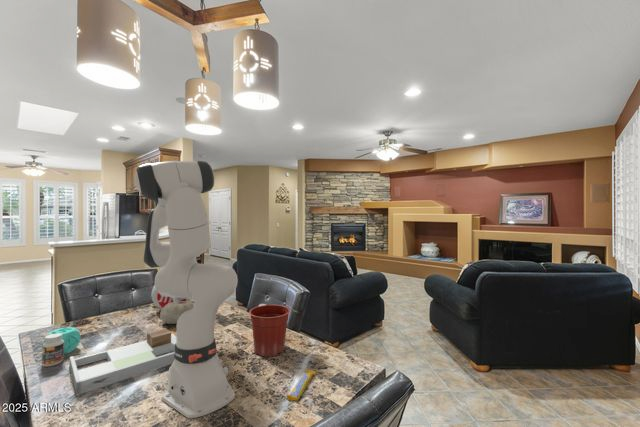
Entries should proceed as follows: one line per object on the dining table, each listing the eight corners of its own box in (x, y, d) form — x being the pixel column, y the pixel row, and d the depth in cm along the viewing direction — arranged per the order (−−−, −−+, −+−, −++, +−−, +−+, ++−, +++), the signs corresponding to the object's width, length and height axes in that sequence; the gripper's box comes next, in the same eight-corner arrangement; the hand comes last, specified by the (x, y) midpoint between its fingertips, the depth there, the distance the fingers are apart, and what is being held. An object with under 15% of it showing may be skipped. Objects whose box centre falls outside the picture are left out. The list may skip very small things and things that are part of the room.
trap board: (192, 357, 109) (192, 347, 109) (76, 395, 85) (76, 382, 85) (172, 339, 125) (172, 330, 125) (69, 367, 101) (69, 356, 101)
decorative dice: (80, 347, 116) (81, 327, 116) (61, 356, 108) (61, 335, 108) (62, 346, 117) (63, 326, 117) (42, 355, 109) (42, 334, 109)
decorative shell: (187, 313, 159) (187, 295, 159) (205, 320, 148) (206, 301, 148) (153, 322, 144) (153, 303, 144) (171, 331, 134) (171, 310, 134)
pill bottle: (44, 368, 100) (45, 340, 100) (39, 364, 103) (40, 336, 103) (65, 362, 104) (66, 334, 105) (60, 357, 108) (61, 331, 108)
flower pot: (240, 350, 116) (241, 310, 116) (272, 338, 128) (273, 302, 128) (264, 364, 105) (265, 320, 105) (297, 349, 117) (298, 310, 117)
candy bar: (297, 405, 83) (297, 398, 83) (284, 402, 84) (284, 395, 84) (316, 375, 99) (316, 369, 99) (304, 373, 100) (304, 367, 100)
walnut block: (171, 342, 116) (171, 332, 116) (151, 348, 111) (152, 337, 111) (165, 337, 121) (165, 327, 121) (146, 342, 116) (146, 332, 116)
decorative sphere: (155, 318, 150) (156, 280, 151) (147, 308, 165) (148, 274, 166) (194, 310, 163) (195, 275, 164) (184, 302, 178) (184, 270, 179)
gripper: (196, 265, 134) (196, 295, 134) (157, 273, 115) (156, 307, 115) (207, 266, 131) (206, 296, 131) (168, 274, 112) (167, 309, 112)
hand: (182, 302), depth 123 cm, fingers open, 5 cm apart
